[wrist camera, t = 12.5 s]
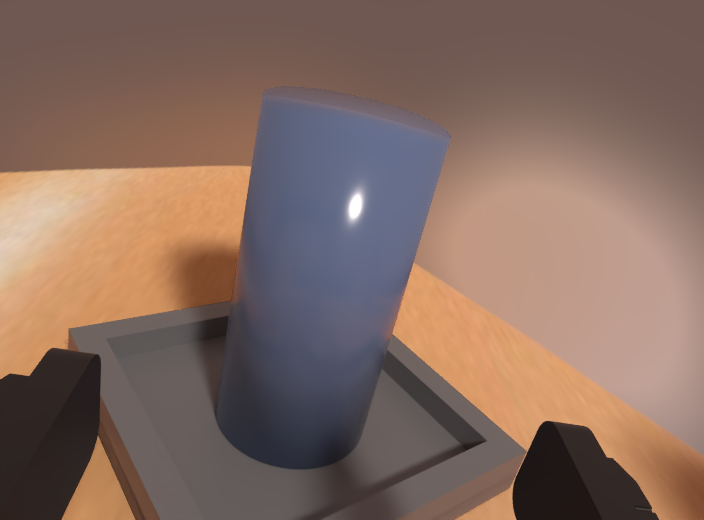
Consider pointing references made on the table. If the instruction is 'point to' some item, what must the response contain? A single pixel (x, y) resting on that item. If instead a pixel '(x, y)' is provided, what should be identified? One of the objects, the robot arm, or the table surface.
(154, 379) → the tray
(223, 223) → the table surface
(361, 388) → the blue-grey cylinder
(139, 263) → the table surface
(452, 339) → the table surface
